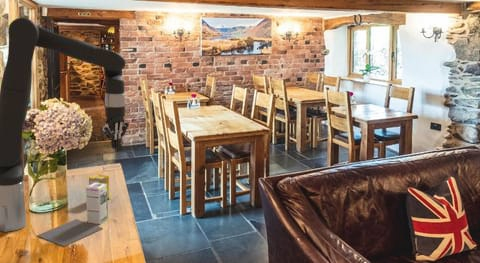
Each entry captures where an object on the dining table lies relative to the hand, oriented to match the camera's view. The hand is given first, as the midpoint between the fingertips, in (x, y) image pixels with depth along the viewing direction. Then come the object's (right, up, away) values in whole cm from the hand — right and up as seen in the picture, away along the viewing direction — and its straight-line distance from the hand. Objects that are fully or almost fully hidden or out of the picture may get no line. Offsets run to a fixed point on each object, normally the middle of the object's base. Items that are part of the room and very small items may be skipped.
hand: (115, 148), depth 166 cm
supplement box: (-12, -24, +17) cm, 31 cm away
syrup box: (-6, -28, -3) cm, 29 cm away
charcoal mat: (-12, -30, -14) cm, 35 cm away
